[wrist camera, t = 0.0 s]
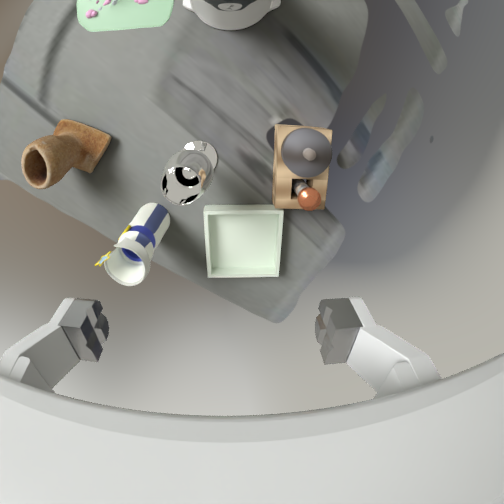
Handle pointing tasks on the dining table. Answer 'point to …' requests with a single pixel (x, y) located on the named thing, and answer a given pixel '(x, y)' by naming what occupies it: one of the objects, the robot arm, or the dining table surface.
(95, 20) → the plant
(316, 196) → the lock pin
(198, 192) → the wineglass
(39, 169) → the brown l-shaped piece
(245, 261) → the tray
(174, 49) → the dining table surface
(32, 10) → the dining table surface
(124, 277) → the water bottle
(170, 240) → the dining table surface
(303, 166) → the block
